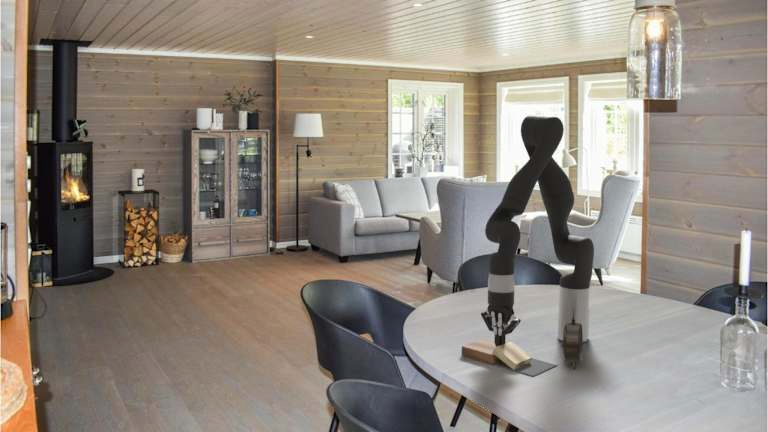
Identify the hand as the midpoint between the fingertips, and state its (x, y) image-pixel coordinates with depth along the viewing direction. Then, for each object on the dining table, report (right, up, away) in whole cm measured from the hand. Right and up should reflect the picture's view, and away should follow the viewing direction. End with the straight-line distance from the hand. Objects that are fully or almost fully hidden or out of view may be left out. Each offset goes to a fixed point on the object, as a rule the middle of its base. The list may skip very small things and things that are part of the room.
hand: (499, 346), depth 203 cm
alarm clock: (+20, -5, -3) cm, 21 cm away
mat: (+7, -5, -4) cm, 9 cm away
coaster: (+3, -3, -3) cm, 5 cm away
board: (-3, -4, +4) cm, 6 cm away
